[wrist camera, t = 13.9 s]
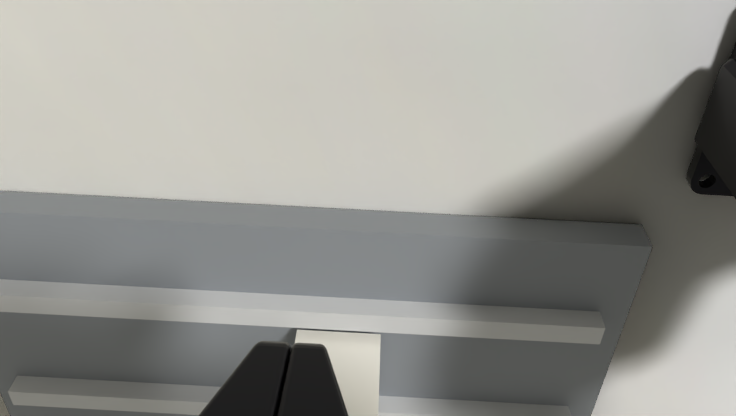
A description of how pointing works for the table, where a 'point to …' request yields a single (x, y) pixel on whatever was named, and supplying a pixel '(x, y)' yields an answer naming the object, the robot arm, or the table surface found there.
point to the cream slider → (352, 366)
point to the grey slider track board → (304, 302)
